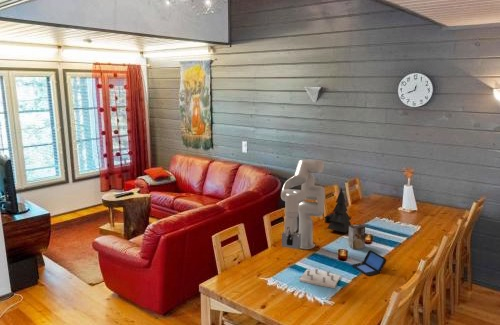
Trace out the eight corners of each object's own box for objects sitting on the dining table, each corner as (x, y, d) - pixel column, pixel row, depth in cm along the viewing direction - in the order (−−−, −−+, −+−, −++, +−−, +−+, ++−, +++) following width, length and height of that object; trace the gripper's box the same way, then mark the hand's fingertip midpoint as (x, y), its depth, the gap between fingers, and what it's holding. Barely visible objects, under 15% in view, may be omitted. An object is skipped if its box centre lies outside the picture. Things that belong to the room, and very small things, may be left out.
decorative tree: (345, 237, 287) (347, 191, 281) (326, 233, 296) (327, 188, 289) (352, 232, 299) (354, 187, 293) (334, 228, 307) (336, 184, 301)
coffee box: (359, 246, 272) (360, 223, 269) (364, 249, 266) (365, 226, 263) (347, 247, 270) (348, 225, 267) (352, 251, 264) (353, 228, 261)
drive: (284, 243, 237) (285, 230, 235) (300, 246, 232) (300, 233, 231) (281, 246, 233) (281, 233, 231) (297, 249, 228) (297, 236, 227)
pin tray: (306, 271, 235) (306, 265, 234) (340, 277, 226) (340, 271, 225) (299, 281, 222) (299, 275, 222) (334, 288, 214) (334, 282, 213)
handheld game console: (351, 267, 240) (351, 252, 239) (368, 263, 245) (369, 249, 244) (367, 278, 226) (368, 262, 224) (386, 273, 231) (387, 258, 229)
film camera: (340, 221, 324) (341, 210, 322) (343, 225, 314) (344, 214, 313) (322, 221, 324) (322, 211, 322) (324, 225, 314) (325, 214, 313)
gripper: (290, 209, 238) (290, 237, 241) (280, 217, 223) (279, 247, 226) (302, 210, 235) (302, 239, 238) (292, 218, 220) (292, 249, 223)
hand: (291, 243), depth 232 cm, fingers closed on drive, 5 cm apart
